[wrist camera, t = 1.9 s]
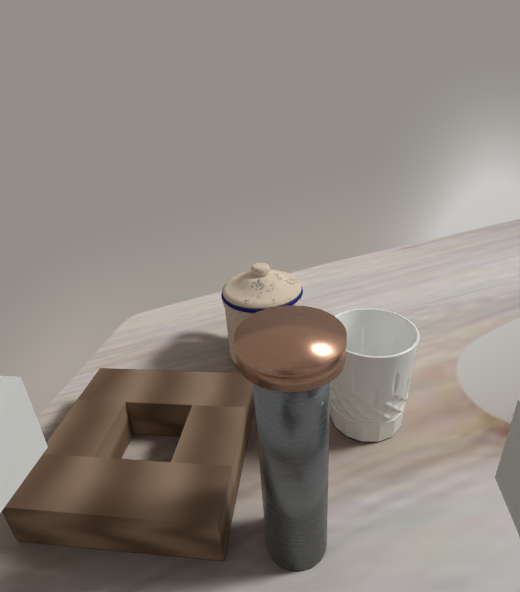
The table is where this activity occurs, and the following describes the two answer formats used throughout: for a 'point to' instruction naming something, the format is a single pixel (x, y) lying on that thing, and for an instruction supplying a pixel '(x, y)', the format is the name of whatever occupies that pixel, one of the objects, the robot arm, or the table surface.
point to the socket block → (141, 466)
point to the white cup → (373, 374)
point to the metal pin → (292, 422)
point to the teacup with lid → (257, 295)
